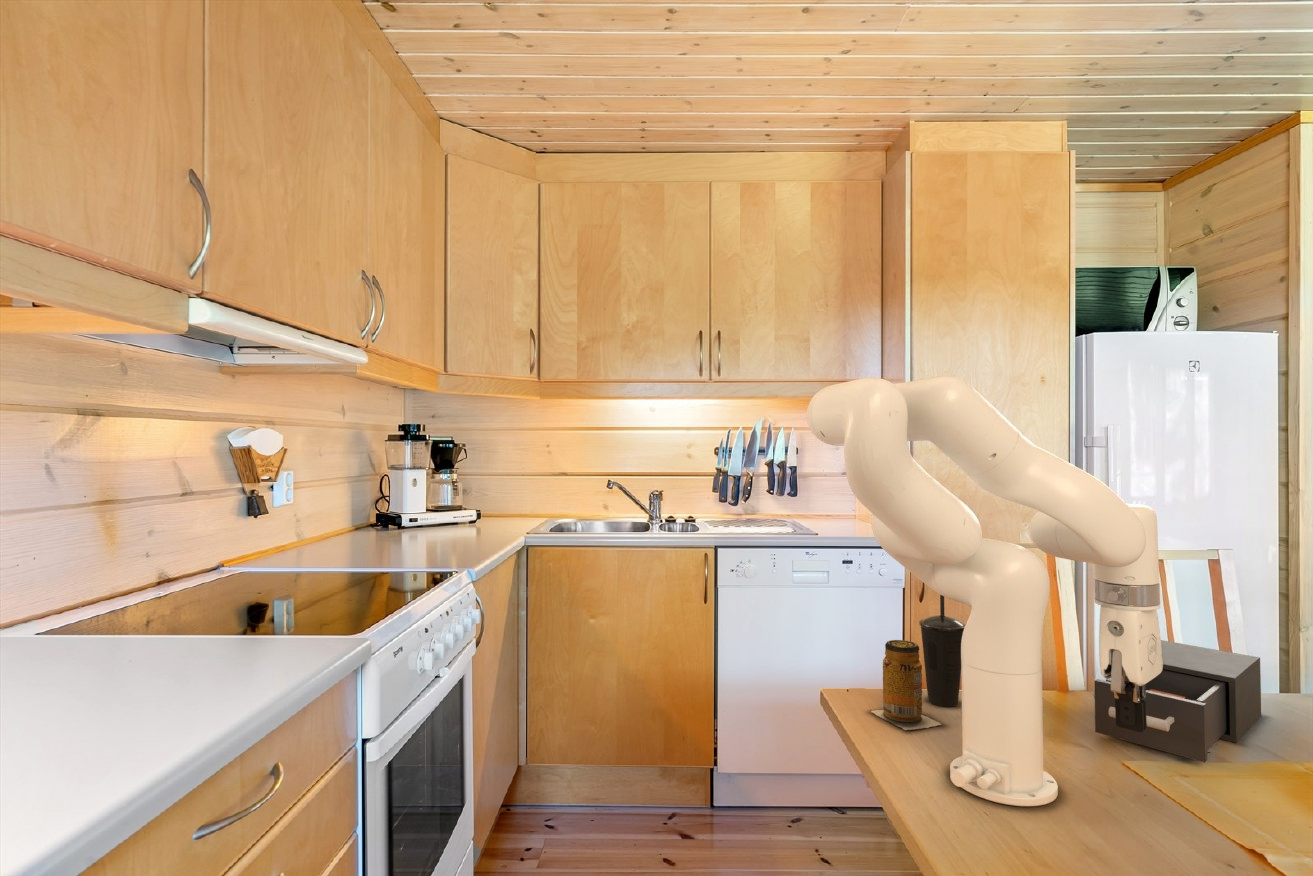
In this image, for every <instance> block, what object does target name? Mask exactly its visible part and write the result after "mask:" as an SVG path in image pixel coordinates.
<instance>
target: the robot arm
mask: <svg viewBox="0 0 1313 876" xmlns="http://www.w3.org/2000/svg"><path fill="white" fill-rule="evenodd" d="M806 421H807V425H808V428H809V430H810V431H811V433H812V434H813V435H814V436H815V438H816V439H818V440H819V441H821V442H822V443H824V444H826V445H830V446H834V447H835V446H836V447H843V457H844V458H843V459H844V467H845V474H846V478H847V482H848V486H849V488H850V490H851V492H852V493H853V495H854V497H855V498H856V499H857V500H858V501H859V502H860V503H861V505H863V506H864V507H865V508H866V509H867V510H868V511H869V512H870V513H871V518H870V519H871V520H870V523H871V529H872V533H873V536H874V538H875V540H876V541H877V543H878V545H879V546H880V547H881V549H883V550H884V551H885V552H886V553H887V554H888V555H889V556H890V557H891V558H893V559H894V560H895V561H896V562H897V563H899V564H900V565H901V566H902V567H904V568H905V569H906V570H907V571H908V572H910V573H911V574H912V575H914V577H916V578H917V579H918V580H920V581H921V582H922V583H924V585H926V586H927V587H928V588H930V589H931V590H933V591H934V592H935V593H937V594H938V595H939V596H940V595H942V596H944V598H947V599H949V600H952V601H954V602H957V603H961V604H964V605H967V606H969V607H971V610H970V613H969V616H968V619H967V621H966V623H965V624H966V626H965V628H964V631H963V635H962V641H961V740H962V741H961V747H962V748H961V749H962V750H961V751H962V752H961V755H960V756H958V757H956V758H954V759H953V760H952V761H951V762H950V764H949V771H950V772H949V777H950V778H949V779H950V781H951V783H953V785H954V786H955V787H958V788H961V789H963V790H964V791H966V792H968V793H970V794H972V795H973V796H975V797H978V798H981V799H983V800H987V801H990V802H994V803H997V804H1003V805H1007V806H1015V807H1039V806H1044V805H1047V804H1050V803H1052V802H1053V801H1055V800H1056V799H1057V797H1058V795H1059V784H1058V782H1057V780H1056V779H1055V778H1054V777H1053V776H1052V775H1051V774H1050V773H1049V772H1047V771H1046V770H1044V769H1045V768H1044V714H1043V713H1044V711H1043V710H1044V708H1043V707H1044V706H1043V703H1044V702H1043V699H1044V698H1043V631H1044V630H1043V629H1044V621H1045V616H1046V611H1047V607H1048V602H1049V599H1050V598H1049V597H1050V591H1051V580H1050V575H1049V571H1048V569H1047V567H1046V565H1045V563H1044V562H1043V560H1041V558H1040V557H1039V556H1038V555H1037V554H1036V553H1034V552H1033V551H1031V550H1030V549H1028V548H1027V547H1024V546H1022V545H1020V544H1016V543H1014V542H1009V541H1004V540H999V539H992V538H987V537H983V530H982V529H983V528H982V526H981V523H980V521H979V519H978V517H977V515H976V514H975V512H973V510H971V508H970V507H968V505H967V504H966V503H964V502H963V501H962V500H961V499H959V498H958V497H957V496H956V495H954V494H953V493H952V492H950V490H949V489H947V488H946V487H945V486H943V485H942V484H941V483H940V482H939V481H937V480H936V479H935V478H934V477H933V476H932V475H930V474H929V473H928V472H927V471H926V470H925V469H924V468H923V467H922V466H921V465H920V464H919V463H918V462H917V461H916V460H915V459H914V457H913V456H912V453H911V451H910V448H909V443H908V442H923V441H924V442H925V441H926V442H927V441H928V442H930V443H932V444H933V445H934V446H935V447H936V448H938V450H940V451H941V452H942V453H943V454H944V455H945V456H946V457H947V458H948V459H949V460H951V461H952V462H953V463H954V464H955V465H956V466H958V468H960V469H961V471H963V472H964V473H965V474H966V475H967V476H968V477H969V478H970V479H971V480H972V481H973V482H974V483H975V484H976V485H977V486H979V487H980V488H981V489H982V490H984V491H986V492H988V493H990V494H993V495H995V496H996V497H999V498H1001V499H1004V500H1006V501H1009V502H1013V503H1016V504H1019V505H1022V506H1024V507H1028V508H1030V509H1033V510H1035V511H1036V513H1035V514H1034V515H1033V516H1032V518H1031V519H1030V522H1029V526H1028V531H1029V533H1028V534H1029V537H1030V539H1031V541H1032V542H1033V544H1034V546H1035V547H1036V548H1037V549H1038V550H1040V551H1041V552H1043V553H1045V554H1047V555H1049V556H1052V557H1055V558H1059V559H1064V560H1070V561H1074V562H1075V561H1076V562H1082V563H1087V564H1092V566H1093V567H1092V569H1093V570H1092V571H1093V596H1094V597H1093V599H1094V600H1093V601H1094V604H1096V605H1099V606H1100V609H1099V610H1100V611H1099V627H1098V628H1099V629H1098V630H1099V631H1098V659H1099V670H1100V674H1101V676H1102V677H1103V678H1104V679H1105V680H1106V679H1109V678H1111V691H1112V692H1114V697H1115V716H1116V725H1117V726H1118V727H1121V728H1125V729H1129V730H1132V731H1136V732H1143V731H1144V730H1145V729H1146V728H1147V718H1146V700H1141V699H1145V698H1146V683H1148V682H1149V681H1151V680H1152V679H1153V678H1155V677H1156V676H1158V675H1159V674H1160V673H1161V672H1162V669H1163V661H1162V649H1161V640H1162V639H1161V638H1162V637H1161V629H1160V621H1159V614H1158V610H1160V609H1161V588H1160V585H1161V584H1160V562H1159V561H1160V560H1159V559H1160V558H1159V537H1158V536H1159V535H1158V532H1159V531H1158V518H1157V513H1156V511H1155V510H1154V508H1152V507H1151V506H1148V505H1145V504H1137V503H1126V502H1125V501H1124V500H1123V499H1122V498H1121V497H1120V496H1119V495H1118V494H1117V493H1116V492H1115V491H1114V490H1113V489H1111V488H1110V487H1109V486H1108V485H1107V484H1106V483H1104V482H1103V481H1101V480H1100V479H1098V478H1096V477H1095V476H1094V475H1092V474H1090V473H1088V472H1087V471H1085V470H1083V469H1082V468H1080V467H1078V466H1076V465H1074V464H1072V463H1070V462H1068V461H1066V460H1064V459H1062V458H1060V457H1059V456H1057V455H1055V454H1054V453H1052V452H1049V451H1047V450H1045V449H1043V448H1041V447H1039V446H1037V445H1036V444H1034V443H1032V442H1031V441H1030V440H1029V439H1028V438H1026V437H1025V436H1024V434H1022V433H1021V431H1020V430H1019V429H1017V428H1016V427H1015V426H1014V425H1013V424H1012V423H1011V422H1010V421H1009V420H1008V419H1007V418H1006V417H1004V415H1002V414H1001V412H1000V411H998V410H997V408H995V406H994V405H992V404H991V403H990V402H989V400H987V399H986V398H984V397H983V396H982V394H980V392H978V390H977V389H976V388H974V387H973V385H971V384H970V383H968V382H967V381H966V380H964V379H962V378H959V377H956V376H954V375H953V376H952V375H939V376H933V377H928V378H922V379H916V380H910V381H905V382H897V383H896V382H895V383H892V382H891V381H890V380H888V379H884V378H880V377H864V378H858V379H853V380H848V381H845V382H840V383H835V384H834V383H833V384H831V385H828V386H825V387H823V388H821V389H820V390H818V391H817V392H816V393H815V394H814V395H813V396H812V398H811V399H810V400H809V403H808V405H807V409H806Z"/></svg>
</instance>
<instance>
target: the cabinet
mask: <svg viewBox="0 0 1313 876" xmlns="http://www.w3.org/2000/svg"><path fill="white" fill-rule="evenodd" d="M1161 649H1162V661H1163V669H1166V670H1171V671H1175V672H1180V673H1185V674H1190V675H1195V676H1200V677H1205V678H1210V679H1215V680H1220V681H1225V682H1227V731H1226V732H1225V733H1224V734H1223V735H1222V736H1221V737H1220V738H1219V739H1218V740H1223V741H1227V742H1231V743H1235V744H1237V743H1238V742H1239V741H1240V740H1241V739H1242V738H1243V737H1244V736H1245V734H1247V732H1248V731H1250V729H1251V728H1252V727H1253V725H1255V723H1256V722H1257V721H1258V720H1259V719H1260V718H1261V717H1262V685H1261V682H1262V678H1261V676H1262V675H1261V657H1259V656H1254V655H1248V654H1242V653H1237V652H1233V651H1232V652H1231V651H1225V650H1220V649H1215V648H1209V647H1203V646H1197V645H1191V644H1186V643H1179V642H1176V641H1175V642H1174V641H1169V640H1165V639H1161Z"/></svg>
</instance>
